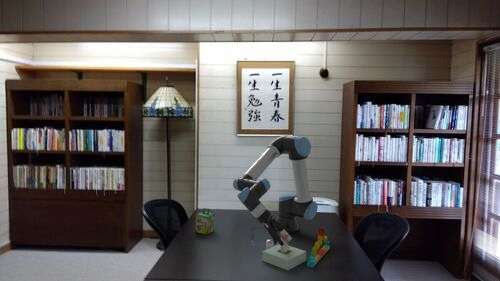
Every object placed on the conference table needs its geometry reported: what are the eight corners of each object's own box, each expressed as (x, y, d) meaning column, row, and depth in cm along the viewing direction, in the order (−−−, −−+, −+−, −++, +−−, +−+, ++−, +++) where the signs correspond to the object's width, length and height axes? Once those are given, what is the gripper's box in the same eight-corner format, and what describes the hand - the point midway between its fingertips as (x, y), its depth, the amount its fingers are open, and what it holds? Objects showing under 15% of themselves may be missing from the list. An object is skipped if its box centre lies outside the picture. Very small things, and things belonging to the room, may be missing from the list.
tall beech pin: (283, 258, 175) (284, 232, 175) (289, 260, 173) (290, 234, 172) (278, 260, 172) (279, 234, 172) (284, 263, 170) (285, 236, 169)
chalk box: (195, 232, 211) (195, 209, 210) (202, 228, 220) (202, 206, 219) (207, 235, 208) (208, 211, 207) (214, 230, 216) (215, 208, 215)
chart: (312, 268, 165) (314, 238, 164) (306, 267, 167) (307, 237, 166) (330, 248, 192) (331, 223, 191) (324, 247, 193) (325, 222, 192)
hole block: (280, 252, 184) (281, 243, 184) (305, 260, 173) (306, 251, 173) (262, 260, 172) (262, 251, 172) (287, 270, 161) (288, 260, 161)
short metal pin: (269, 247, 191) (269, 238, 190) (274, 249, 188) (274, 240, 188) (264, 249, 188) (264, 240, 187) (270, 251, 185) (270, 242, 185)
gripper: (260, 211, 187) (286, 240, 185) (251, 225, 162) (281, 258, 160) (269, 203, 185) (296, 232, 183) (262, 215, 161) (292, 249, 159)
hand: (289, 244), depth 172 cm, fingers open, 13 cm apart
